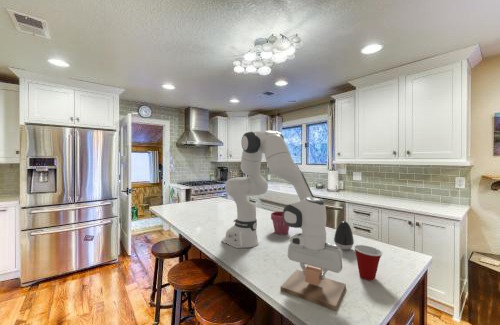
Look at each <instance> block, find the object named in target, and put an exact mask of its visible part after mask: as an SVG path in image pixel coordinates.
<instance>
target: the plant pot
mask: <svg viewBox="0 0 500 325" xmlns="http://www.w3.org/2000/svg"><path fill="white" fill-rule="evenodd" d="M270 219H271V220H272V224H273V225H272V226H273V229H274V233H275V234H277V233H278V234H277V235H287V234H288V233H289V230H290V227H289V226H288V225H287V224H286V223H285V221H284V219H283V211H281V210H280V211H274V212H271V213H270Z"/></svg>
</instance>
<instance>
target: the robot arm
mask: <svg viewBox="0 0 500 325" xmlns="http://www.w3.org/2000/svg"><path fill="white" fill-rule="evenodd" d="M240 143H241V148H242V154H241V160H240V166H239V167H240V170H241V171H242V173H244V174H245V175H247V176H243V177H241V176H239V177H238V176H237V177H236V176H235V177H232V178H228V179H227V180H226V182H225V185H224V189H225V192H226V194H227V195H228V196H229V197H231V199H232V200H233V201H234V203H235V205H236V206H235V207H236V214H237V217H236V219H234V220H233V223H234V225H232V226H231V227H230V228H228V229H227V230H226V233H225V236H224V237H223V238H221V242H222V243H224V244H226V243H227V244H226V245H228V244H229V245H228V246H230V247H233V248H235V249H243V248H253V247H256V246H258V245H259V243H260V242H259V239H258V234H257V225H258V223H257V222H258V221H257V206H256V205H255V203H253V202H251V201H249V200H248V199H247V198H248V197H251V196H253V197H254V196H260V195H265V194H266V193H267V191H268V188H269V184H268V183H269V182H268V181H267V179H266V178H264V176H263V175H262V174H261V164H262V160H263V159H262V158H263V154H264V156H265V160H266V164H267V168H268V170H269V171H270V173H271V175H273V176H275V177H277V178H278V179H281V180H285V181H286V182H288V183H290V184H291V185H292V186H293V188H294V189H295V192H296V194H297V196H298V198H299V200H300V201H297V202H294V203H293V202H292V203H289V204H286V205H285V207H284V208H283V209H282V212H283V219H284V221H285V223H286V224H287V225H288V226H289V228H295V229H297V228H298V229H301V230H302V231H301V232H300V233H295V234H294V235H292V236H290V238H289V245H288V248H287V258H288V260H290V261H293V262H297V263H299V266H300V268H301V269H302V270H301V271H303V274H304V275H305V268H306V267H307V266H308V265H311V266H314V267H318V268H321V269H322V273H321V274H320V278H319V279H321V280H324V279H325V278H326V277H325V276H326V274H327V272H328V271H329V272H333V273H336V274H338V273H341V272H342V271H343V270H342V269H343V255H344V250H342V249H341V248H340V247H339V246H337V245H336V244H333V243H332V244H331V243H328V242H327V231H326V225H327V209H326V208H327V207H326V205H325V202H324V200H322V199H320V198H319V197H315V196H314V194H313V192H312V190H311V189H310V186H309V185H308V182H307V179H306V178H305V176H304V174H303V172H302V171H301V170H300V168H299V167H298V166H297V165H296V163H295V162H294V160H293V157H292V155H291V152H290V150H289V148H288V147H289V146H288V145H287V143H286V141H285V138H284V135H283V134H282V133H281V132H280V131H277V130H258V131H248V132H245V133H243V135H242V137H241V142H240ZM306 265H307V266H306Z"/></svg>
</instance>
